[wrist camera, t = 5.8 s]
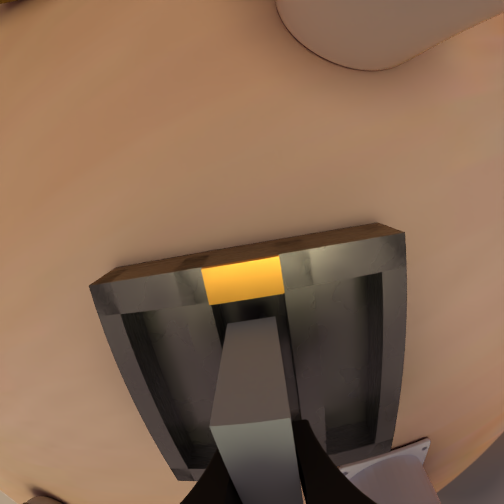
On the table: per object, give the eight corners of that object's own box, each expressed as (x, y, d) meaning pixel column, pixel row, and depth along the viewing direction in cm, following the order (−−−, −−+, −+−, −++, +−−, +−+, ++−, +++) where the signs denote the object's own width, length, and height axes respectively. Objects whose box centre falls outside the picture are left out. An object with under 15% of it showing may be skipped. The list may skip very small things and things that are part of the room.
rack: (377, 423, 17) (391, 454, 14) (185, 450, 18) (177, 483, 15) (378, 222, 14) (408, 233, 11) (115, 267, 15) (85, 287, 12)
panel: (296, 451, 14) (307, 537, 8) (261, 456, 14) (262, 542, 9) (275, 316, 12) (290, 417, 6) (227, 323, 12) (209, 426, 7)
